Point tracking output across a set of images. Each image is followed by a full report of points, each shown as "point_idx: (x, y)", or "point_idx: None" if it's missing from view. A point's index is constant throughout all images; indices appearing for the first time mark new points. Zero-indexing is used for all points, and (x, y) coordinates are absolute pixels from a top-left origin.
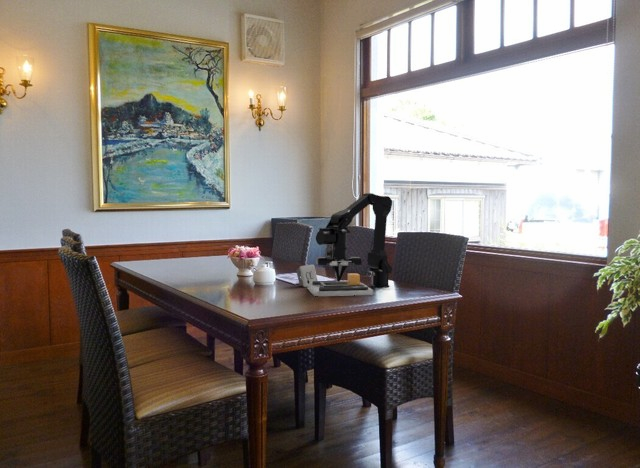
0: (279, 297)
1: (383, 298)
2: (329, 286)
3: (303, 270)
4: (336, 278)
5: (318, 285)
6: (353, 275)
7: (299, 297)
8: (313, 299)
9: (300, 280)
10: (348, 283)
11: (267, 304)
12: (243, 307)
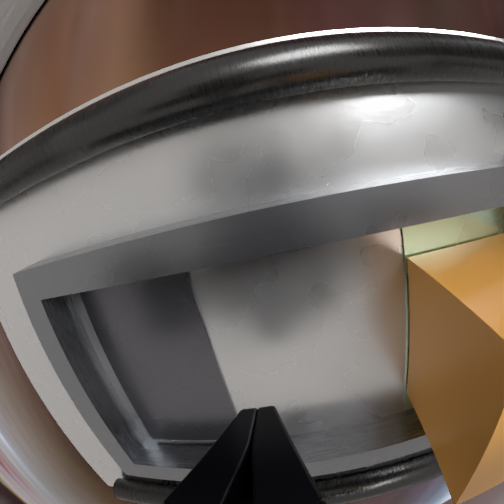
0: (5, 431)
1: None
2: (173, 473)
3: None
4: (220, 441)
5: (30, 256)
6: (493, 484)
7: (62, 456)
8: None
9: None
10: (423, 326)
11: (44, 496)
12: (25, 494)
